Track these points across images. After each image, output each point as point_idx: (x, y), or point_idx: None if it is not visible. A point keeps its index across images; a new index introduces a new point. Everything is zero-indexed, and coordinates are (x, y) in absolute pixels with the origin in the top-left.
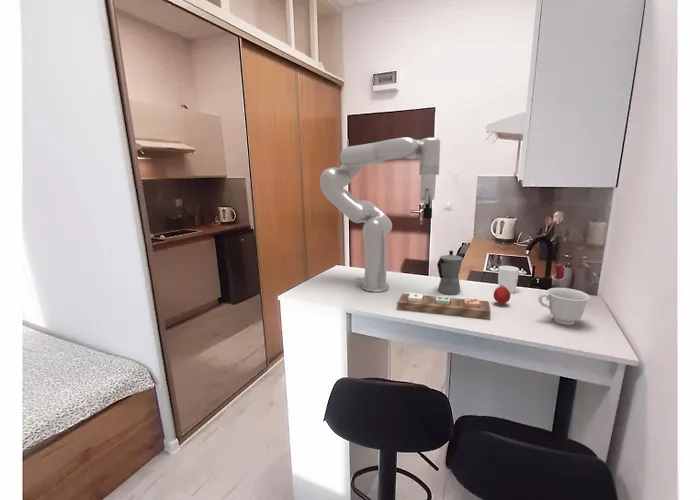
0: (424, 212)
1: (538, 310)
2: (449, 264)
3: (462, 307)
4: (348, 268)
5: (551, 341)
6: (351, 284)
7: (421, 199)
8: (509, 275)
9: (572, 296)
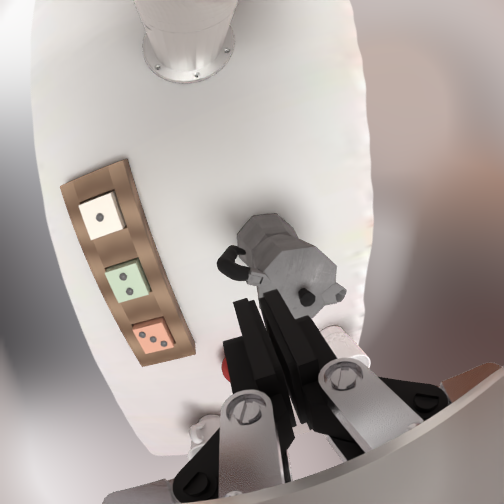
0: (246, 350)
1: None
2: (257, 287)
3: (124, 324)
4: None
5: (131, 415)
6: None
7: (302, 497)
8: None
9: None
